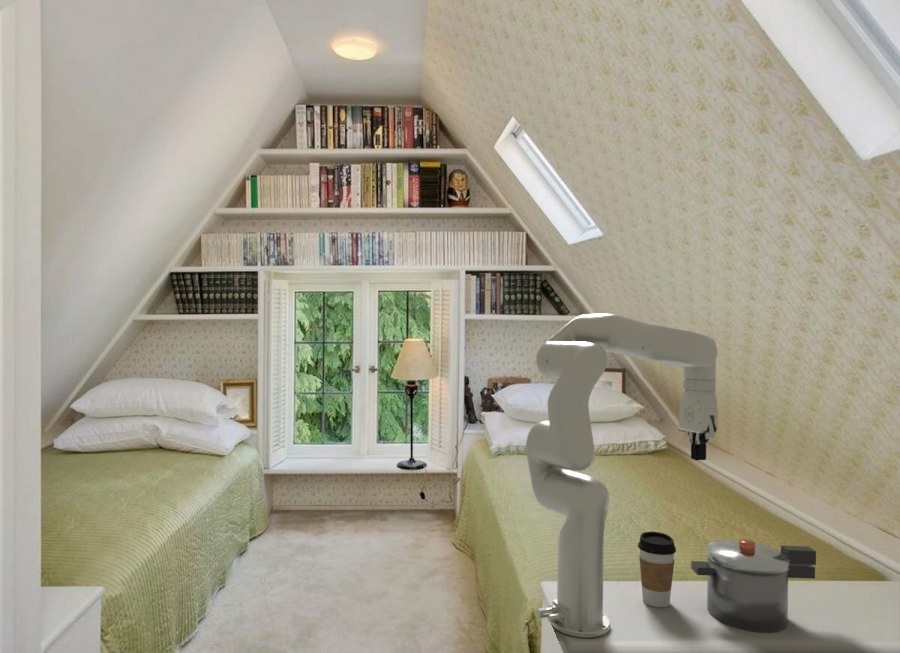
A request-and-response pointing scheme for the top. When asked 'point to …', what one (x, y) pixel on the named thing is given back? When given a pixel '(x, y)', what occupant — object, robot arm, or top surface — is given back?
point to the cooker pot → (749, 595)
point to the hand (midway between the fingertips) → (698, 459)
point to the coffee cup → (656, 567)
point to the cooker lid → (758, 556)
